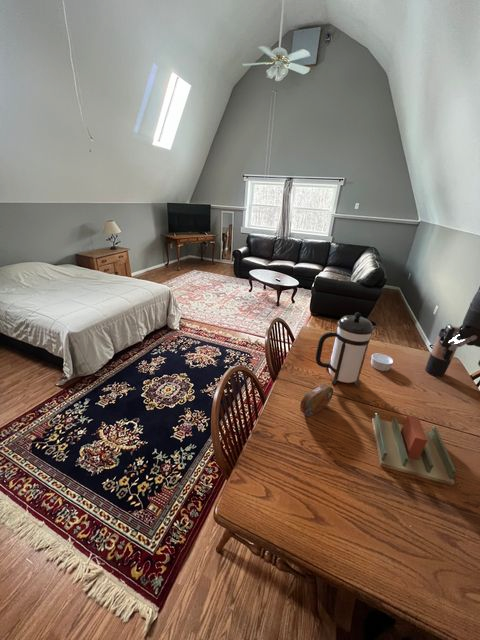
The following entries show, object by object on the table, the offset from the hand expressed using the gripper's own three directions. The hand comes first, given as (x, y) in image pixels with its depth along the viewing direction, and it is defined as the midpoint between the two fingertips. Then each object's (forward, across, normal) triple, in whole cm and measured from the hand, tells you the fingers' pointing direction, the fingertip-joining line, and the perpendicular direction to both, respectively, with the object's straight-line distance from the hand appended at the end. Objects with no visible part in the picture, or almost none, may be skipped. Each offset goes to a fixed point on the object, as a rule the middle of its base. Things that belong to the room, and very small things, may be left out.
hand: (463, 363), depth 75 cm
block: (+27, -8, -8) cm, 29 cm away
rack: (+28, -8, -8) cm, 30 cm away
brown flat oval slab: (+28, -36, 0) cm, 46 cm away
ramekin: (+28, -9, +38) cm, 48 cm away
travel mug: (+28, +14, +42) cm, 53 cm away
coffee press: (+28, -27, +22) cm, 45 cm away
